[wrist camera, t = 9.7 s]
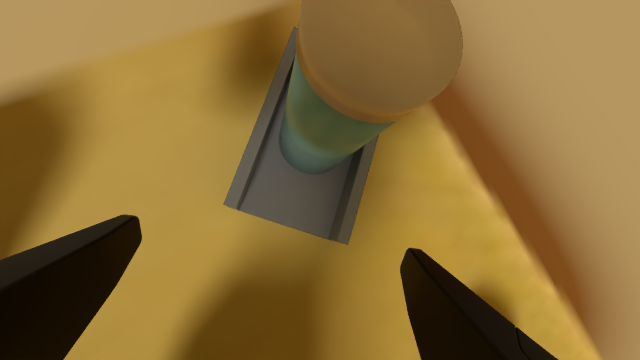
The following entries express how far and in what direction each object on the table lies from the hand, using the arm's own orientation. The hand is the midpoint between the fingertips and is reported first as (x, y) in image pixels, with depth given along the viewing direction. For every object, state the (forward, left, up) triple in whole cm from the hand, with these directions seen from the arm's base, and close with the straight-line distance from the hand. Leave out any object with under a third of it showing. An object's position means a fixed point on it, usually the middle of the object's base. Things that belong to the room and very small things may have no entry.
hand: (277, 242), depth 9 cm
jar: (+2, -8, -11) cm, 14 cm away
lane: (+2, -8, -12) cm, 14 cm away
